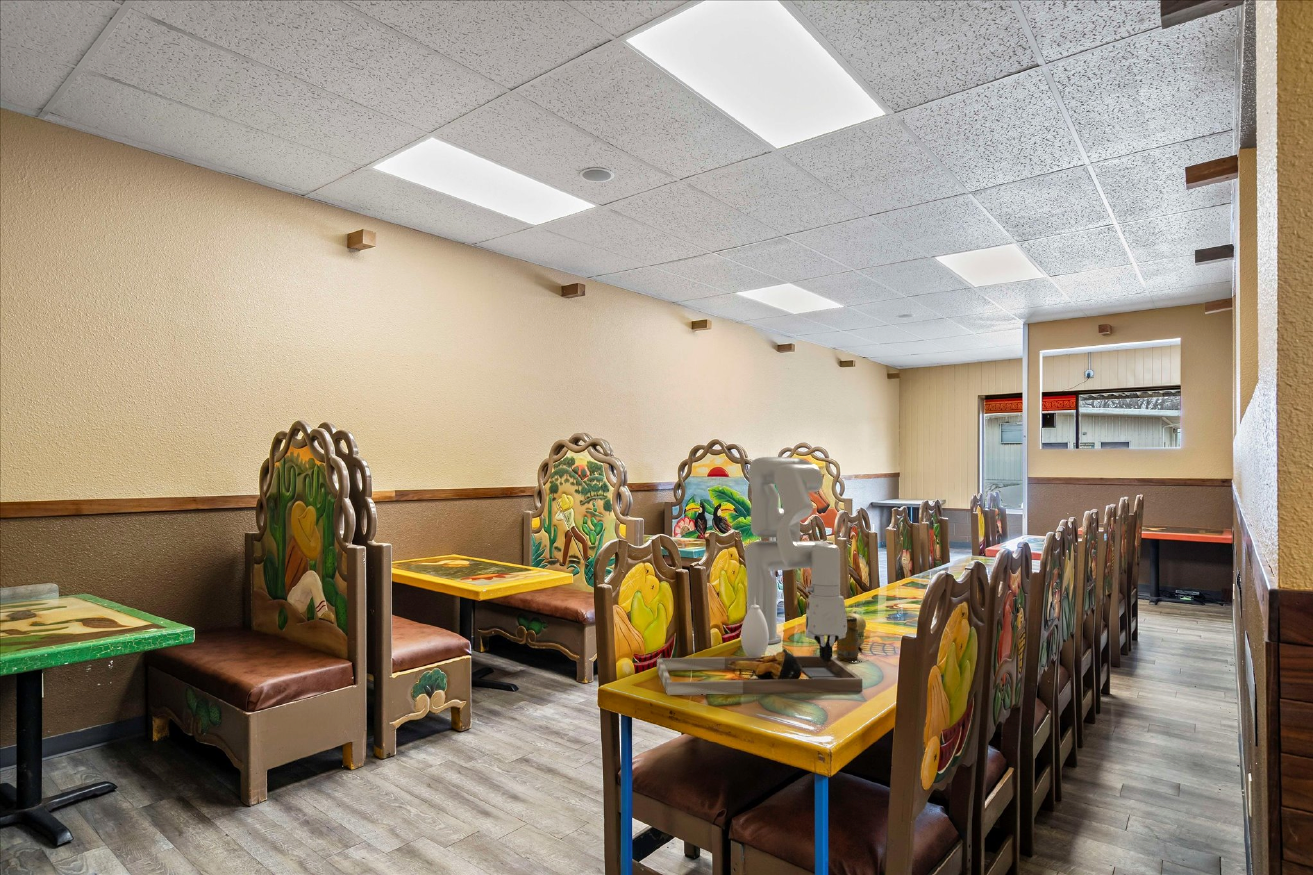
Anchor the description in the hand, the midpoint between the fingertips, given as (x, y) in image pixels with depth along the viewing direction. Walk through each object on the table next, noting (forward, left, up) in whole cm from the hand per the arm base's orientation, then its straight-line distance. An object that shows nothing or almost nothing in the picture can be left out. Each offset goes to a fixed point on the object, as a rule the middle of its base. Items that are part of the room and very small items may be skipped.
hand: (825, 660), depth 191 cm
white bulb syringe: (-20, -14, -5) cm, 25 cm away
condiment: (-18, +14, -5) cm, 24 cm away
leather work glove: (0, -16, -5) cm, 17 cm away
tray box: (0, -19, -5) cm, 20 cm away
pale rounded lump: (-30, +20, -5) cm, 37 cm away
